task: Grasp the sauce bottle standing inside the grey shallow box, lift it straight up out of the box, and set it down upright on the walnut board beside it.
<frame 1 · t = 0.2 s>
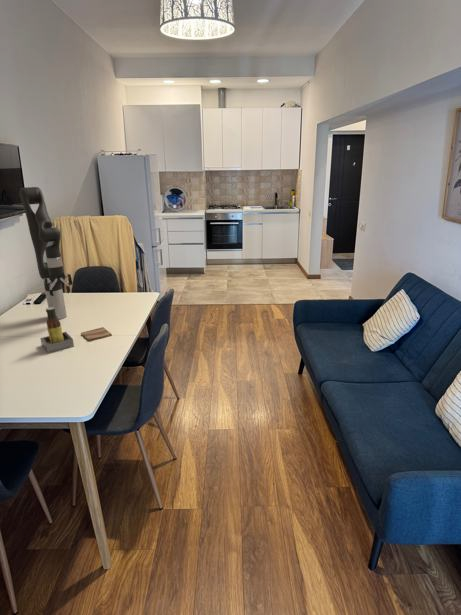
hand: (60, 294, 227), 18 cm above the table, tool pointing down, fingers open, 8 cm apart
grey shallow box: (57, 345, 205), on the table
walnut board: (96, 335, 217), on the table
sauce bottle: (57, 346, 205), resting in grey shallow box
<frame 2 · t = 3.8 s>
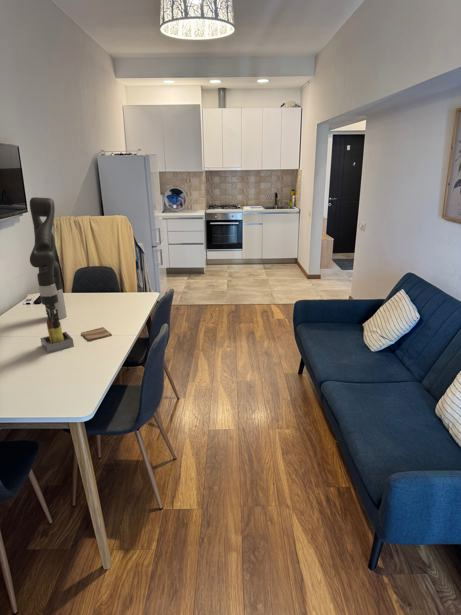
hand: (54, 325, 201), 11 cm above the table, tool pointing down, fingers closed on sauce bottle, 6 cm apart
sauce bottle: (57, 346, 205), resting in grey shallow box, touching gripper
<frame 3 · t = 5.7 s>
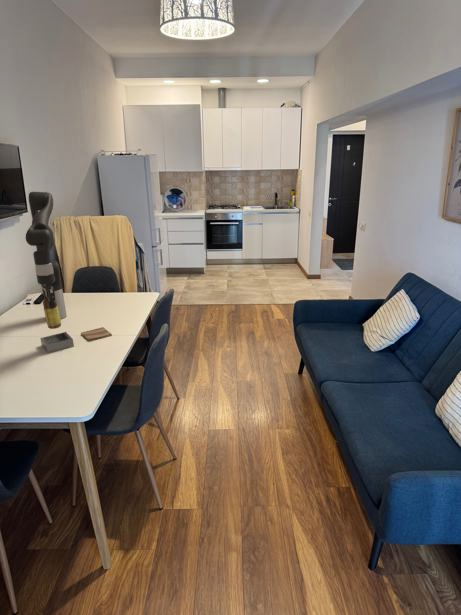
hand: (50, 306, 198), 21 cm above the table, tool pointing down, fingers closed on sauce bottle, 6 cm apart
sauce bottle: (54, 327, 201), point 10 cm above the table, touching gripper
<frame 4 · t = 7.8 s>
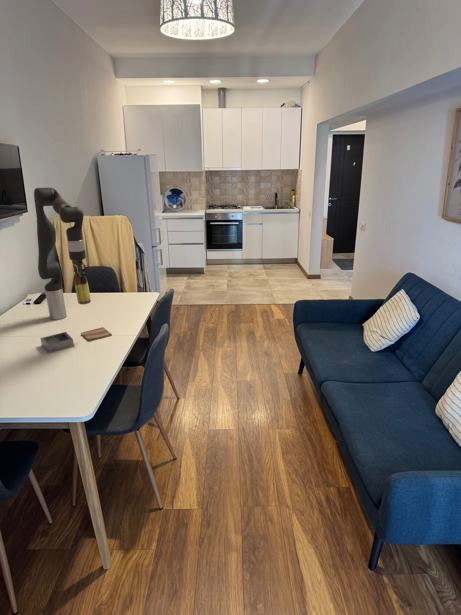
hand: (81, 282, 205), 29 cm above the table, tool pointing down, fingers closed on sauce bottle, 6 cm apart
sauce bottle: (84, 303, 208), point 19 cm above the table, touching gripper
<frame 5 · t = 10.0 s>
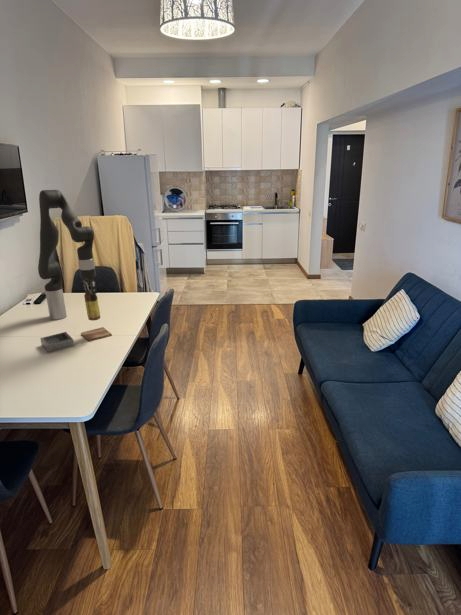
hand: (91, 299, 210), 20 cm above the table, tool pointing down, fingers closed on sauce bottle, 6 cm apart
sauce bottle: (94, 319, 214), point 9 cm above the table, touching gripper
when the fingers open (13 cm above the table, at t = 11.9 s): sauce bottle drops 1 cm, resting on walnut board.
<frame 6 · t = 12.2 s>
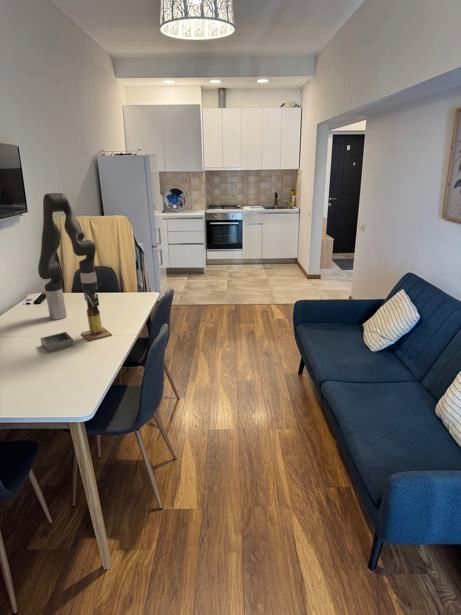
hand: (93, 310, 212), 14 cm above the table, tool pointing down, fingers open, 8 cm apart
sauce bottle: (96, 333, 217), point 1 cm above the table, touching walnut board
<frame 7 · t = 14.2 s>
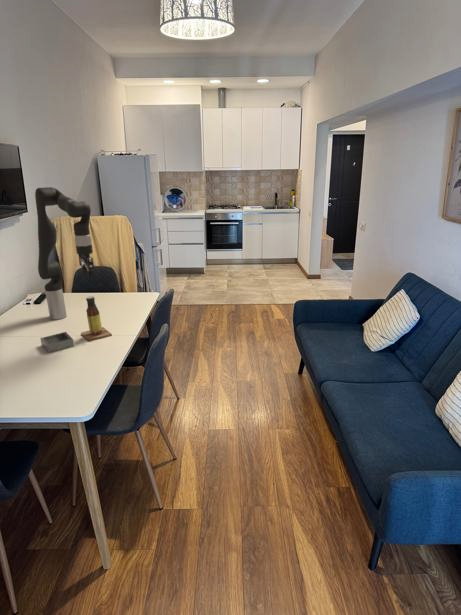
hand: (88, 276, 206), 32 cm above the table, tool pointing down, fingers open, 8 cm apart
nothing on the table moved.
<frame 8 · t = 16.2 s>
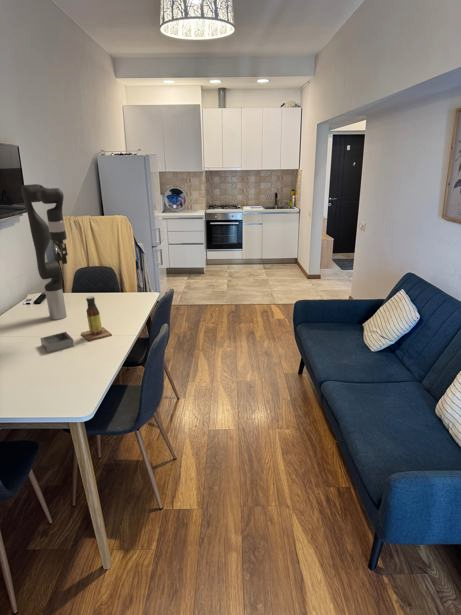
hand: (62, 262, 209), 38 cm above the table, tool pointing down, fingers open, 8 cm apart
nothing on the table moved.
at the end: sauce bottle inside the target area on the walnut board (0.1 cm from its centre), point 0.8 cm above the walnut board's base; sauce bottle tilted 0°; the gripper is holding nothing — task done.
